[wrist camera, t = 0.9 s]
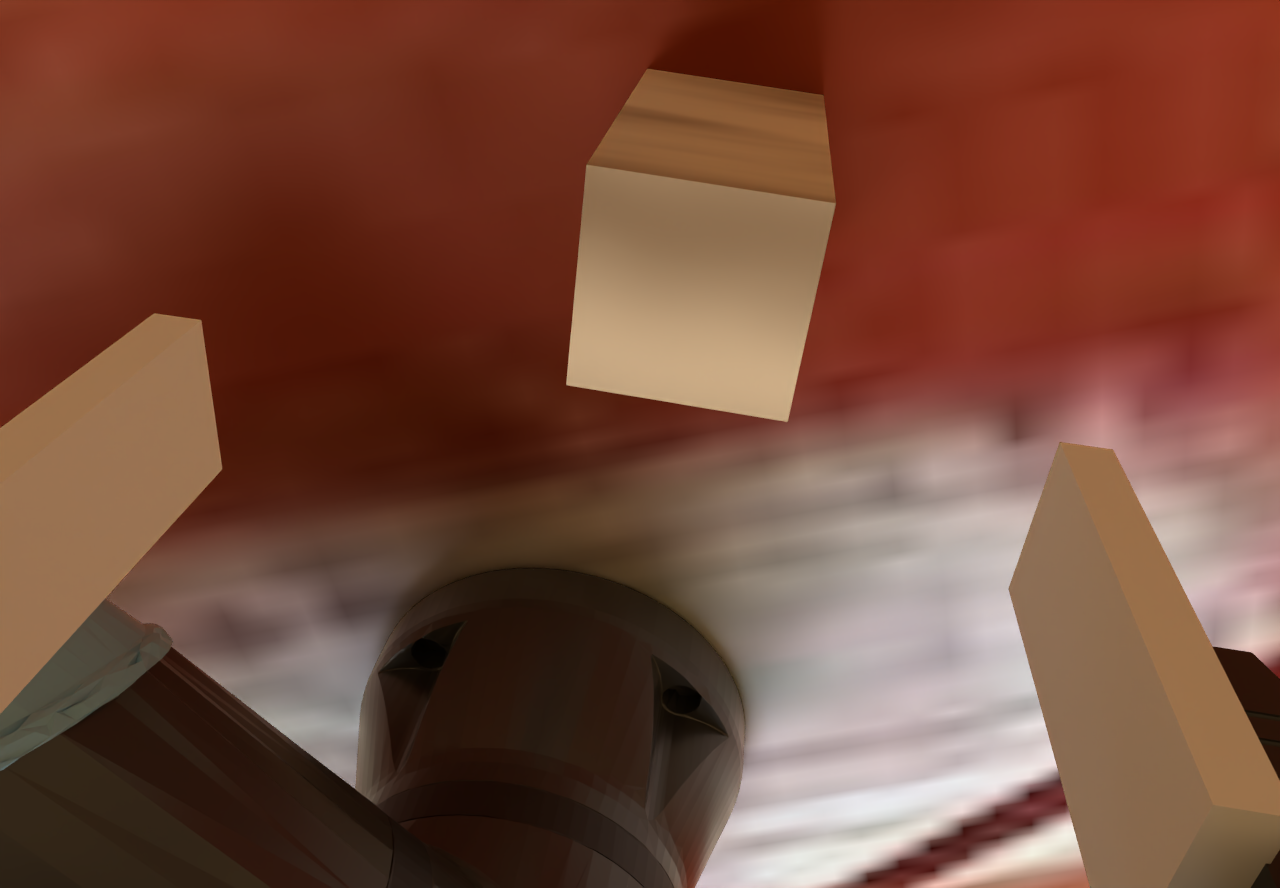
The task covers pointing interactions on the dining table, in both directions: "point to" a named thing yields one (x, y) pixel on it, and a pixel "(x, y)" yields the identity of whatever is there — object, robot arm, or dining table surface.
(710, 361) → the peg
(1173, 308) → the dining table surface
